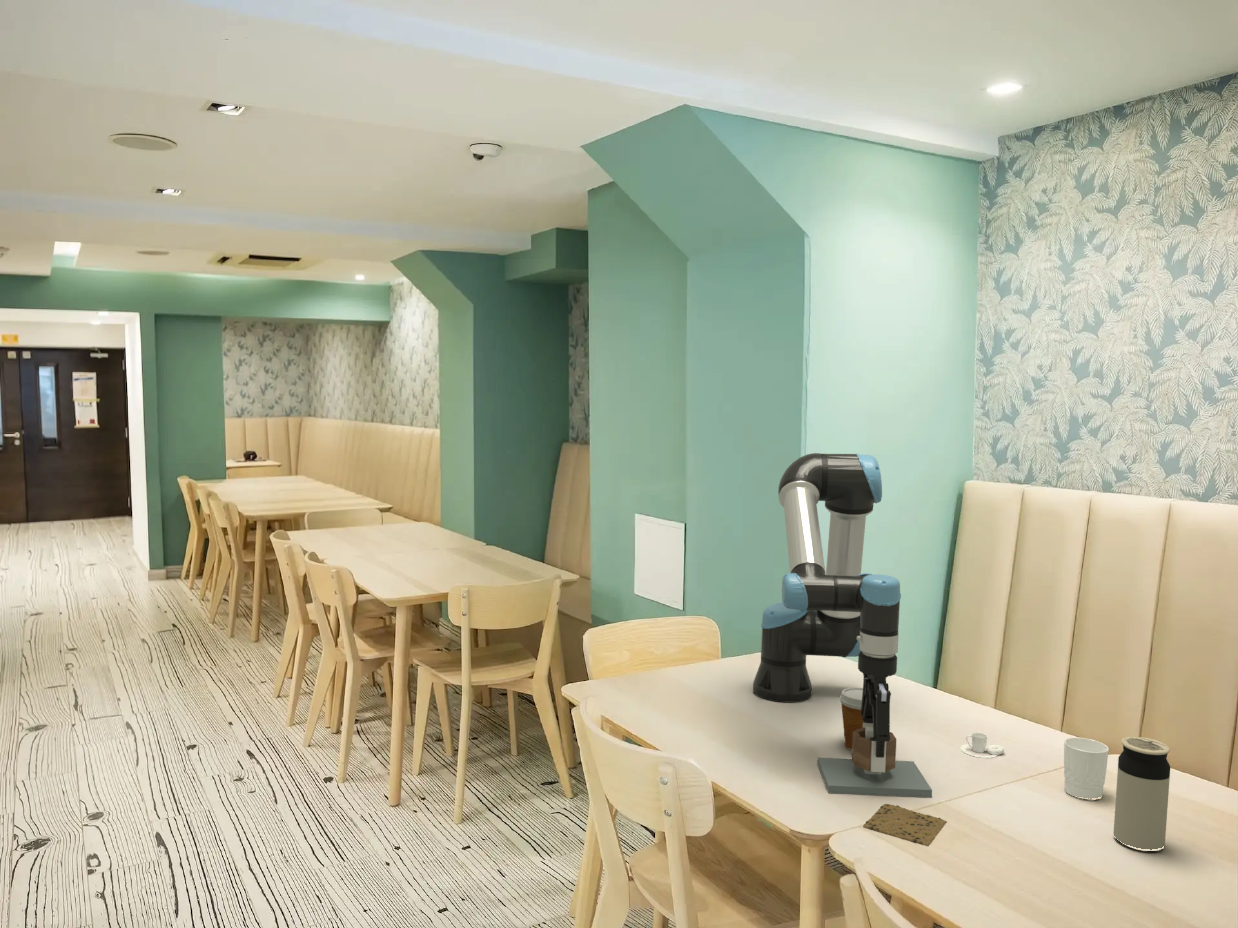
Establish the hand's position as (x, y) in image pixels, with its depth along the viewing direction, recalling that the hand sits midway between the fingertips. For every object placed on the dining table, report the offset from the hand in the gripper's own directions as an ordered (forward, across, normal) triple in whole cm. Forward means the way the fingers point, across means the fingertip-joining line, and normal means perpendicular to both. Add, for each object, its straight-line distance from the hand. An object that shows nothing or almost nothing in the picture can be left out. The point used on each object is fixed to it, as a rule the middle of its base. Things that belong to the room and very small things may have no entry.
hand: (873, 762), depth 189 cm
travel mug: (+4, +22, +42) cm, 48 cm away
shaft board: (+4, 0, 0) cm, 4 cm away
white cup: (+4, +2, +41) cm, 41 cm away
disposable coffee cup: (+4, -18, +1) cm, 18 cm away
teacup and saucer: (+4, -15, +28) cm, 32 cm away
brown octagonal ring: (0, 0, 0) cm, 0 cm away
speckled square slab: (+4, +19, +2) cm, 20 cm away
